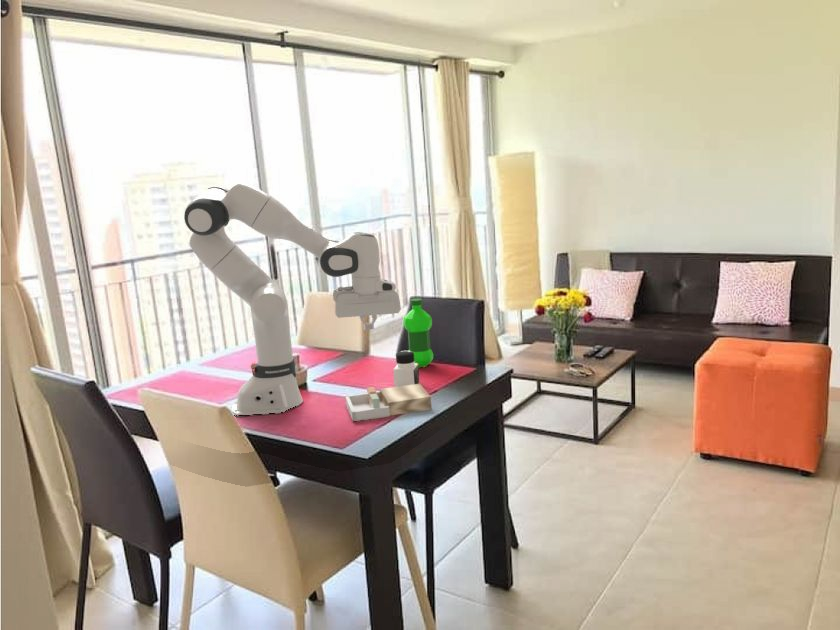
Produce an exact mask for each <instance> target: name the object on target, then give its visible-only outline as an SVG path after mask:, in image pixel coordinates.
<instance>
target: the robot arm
mask: <svg viewBox="0 0 840 630" xmlns="http://www.w3.org/2000/svg"><path fill="white" fill-rule="evenodd" d="M183 215H184V216H183V217H184V223H185V226H186V227H187V229H188V230H190V232H192V234H191V236H190V239H189V246H190V249H191V250H192V252H193V253H194V254H195V256H196V257H197V258H198V260H199V261H201V263H202V264H203V265H204V266H205V267H206V268H207V269H208V270H209V271H210V272H211V273H212V275H214V276H215V277H216V278H217V279H218V280H219V281H220V282H221V283H222V284H223V285H224V286H225V287H227V288H228V289H229V290H230V291H231V292H233V293H234V294H235V295H236V296H238V297H239V298H240V299H241V300H243V301H244V303H246V304H247V305H249V306H250V312H251V321H252V327H253V335H254V341H255V349H256V357H257V358H256V360H257V363H256V362H252V363H251V364H250V370H251V373H252V376H251V377H250V378H249V379H248V380H247V381H245V383H244V384H242V385H241V387H240V388H239V389H238V393H237V400H236V401H234V402H233V404H231V409H230V411H231V410H232V412H233V413H234V414H235V417H239V416H238V415H250V414H262V415H270V414H269V413H275V414H282V413H281V412H283V413H286V412H287V411H289V410H291V409H293V407H294V408H296V407H298V406H300V405H301V404H302V403H303V401H304V400H303V397H302V395H301V392H300V389H299V386H298V381H297V367H296V361H295V358H294V355H293V345H292V337H291V326H290V315H289V304H288V300H287V296H286V293H285V291H284V289H283V288H282V287H281V285H279V284H278V283H277V282H276V281H275V280H274V279H273V278H272V277H270V276H269V274H267V273H266V272H265V271H264V270H263V269H261V267H259V265H257V264H256V263H255V262H254V261H253V260H252V259H251V258H250V257H249V256H248V255H247V254H246V253H245V252H244V251H243V250H242V249H241V248H240V247H239V246H238V245H237V243H235V241H234V242H233V240H231V238H230V237H229V236H228V235H227V233H226V231H225V227H227V226H228V224H229V223H230V221H231V220H237V221H239V222H241V223H243V224H245V225H246V226H248V227H249V228H251V229H252V230H254V231H255V232H257V233H259V234H261V235H264V236H265V237H268V238H270V239H276V240H285V241H289V242H291V243H294V244H296V245H297V246H299V247H301V248H303V250H305V251H307V252H309V253H311V254H312V255H313V256H315V257H316V258H317V259H318V260H319V265H320V268H321V269H322V271H323V272H324V274H326V275H327V276H329V277H333V278H339V277H343V276H347V275H350V274H351V286H343V287H341V286H338V287H337V288H335V289H334V290H333V292H332V297H333V298H332V299H333V301H334V313H335V316H336V317H337V318H340V319H341V318H352V317H355V318H356V317H359V320H360V321H361V323H362V324H363V330H364V331H367V330H370V331H371V330H374V329H375V326H374V324H375V322H376V321H377V319H378V317H377V316H378V315H381V316H382V315H389V314H390V315H392V314H399V313H401V312H400V311H401V299H400V296H399V293H398V292H397V291H396V288H397V287H396V284H395V282H393V281H391V280H388V279H383V278H381V272H380V271H381V270H380V268H379V267H380V261H381V260H380V259H381V256H380V248H379V242H378V240H377V238H376V237H375V236H374V235H373V234H371V233H369V232H368V233H367V232H360V231H359V232H357V231H356V232H355V231H354V232H352V233H351V234H350V235H349V236H347V237H345V238H344V239H343V240H341V241H337V240H333V239H328V238H326V237H324V236H322V235H321V234H319V233H317V232H316V231H314V230H313V229H311V228H309V226H306V225H305V224H303V223H302V222H301V221H300V220H299V219H298V218H297V217H296V216H295V215H294V213H292V212H291V211H290V210H289V208H287V207H286V206H285V205H284V204H283V203H281V202H280V201H279V200H277V199H276V198H275V197H273V196H271V195H270V194H268V193H267V192H265V191H263V190H262V189H259V188H258V187H256V186H253V185H251V184H249V183H247V182H241V181H238V182H236V183H234V184H233V185H231V186H230V187H229V188H228V189H227V188H226V187H222V186H212V187H211V186H210V187H208V188H206V189H205V190H204V191H202V192H199V194H197V195H196V196H195V198H193V200H192V201H191V202H189V204H188V205H187V207H186V208H185V210H184V214H183ZM366 316H371V321H370V322H366V321H365V320H366ZM295 406H296V407H295ZM290 408H291V409H290ZM288 409H289V410H288ZM286 410H287V411H286ZM285 411H286V412H285ZM232 412H231V413H232ZM236 415H237V416H236ZM250 416H251V415H250Z"/></svg>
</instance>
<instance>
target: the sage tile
mask: <svg viewBox="0 0 840 630" xmlns="http://www.w3.org/2000/svg"><path fill="white" fill-rule="evenodd" d="M370 403H371V408H378V407H380V403H379V398H378V396H377V394H370Z"/></svg>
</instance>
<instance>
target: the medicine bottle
mask: <svg viewBox="0 0 840 630" xmlns="http://www.w3.org/2000/svg"><path fill="white" fill-rule="evenodd" d="M395 362H396V365H395V367H394V368H393V369H392V371H393V382H394V385H393V387H398V386H405V385H412V384H420V368H418V363H415V362H414V353H413V352H411V351H408V350H401V351H398V352H397V353H396V354H395Z"/></svg>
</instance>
